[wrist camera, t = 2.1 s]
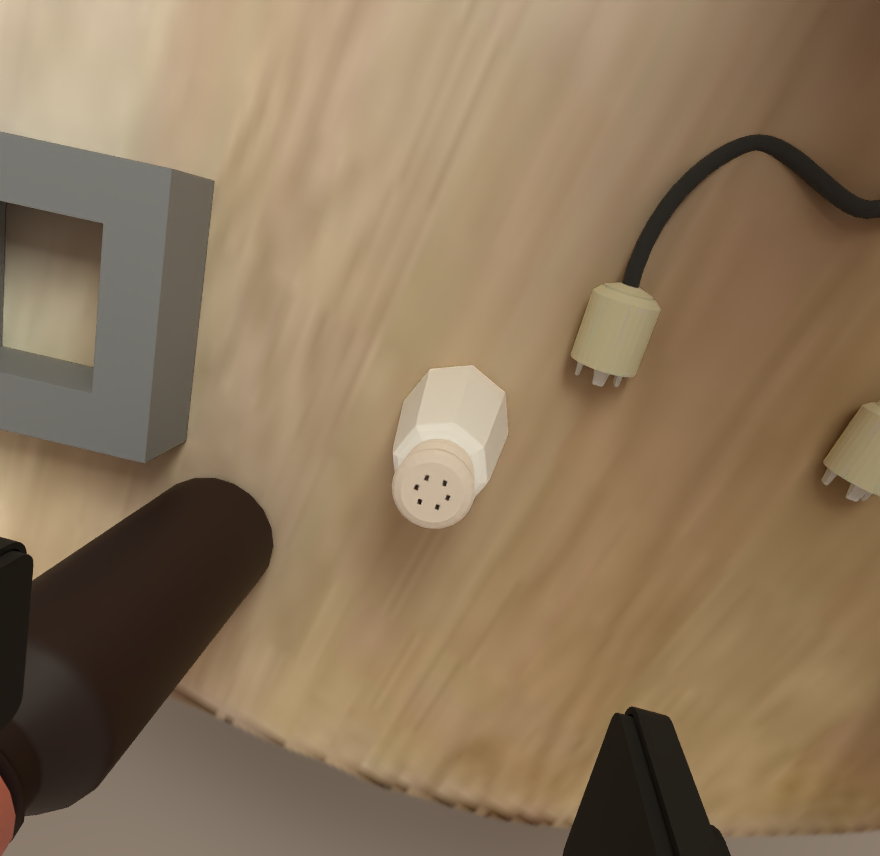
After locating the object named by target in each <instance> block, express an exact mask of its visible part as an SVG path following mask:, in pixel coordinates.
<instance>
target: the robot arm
mask: <svg viewBox="0 0 880 856" xmlns="http://www.w3.org/2000/svg"><path fill="white" fill-rule="evenodd" d="M32 576H33V559H32V557H31V556H30V555H28V554H27V552H26V548H25V546H24V545H23V544H22V543H20V542H17V541H13V540H9V539H6V538H2V537H0V730H2V729H3V728H4V727H5V726H6V725H7V724H8V723H9V722H10V721H11V720H12V719H13V717H14V716H15V714H16V713H17V711H18V709H19V707H20V705H21V702H22V698H23V688H24V676H25V663H26V651H27V638H28V626H29V613H30V601H31V588H32ZM563 856H731V855H730V852H729V850H728V847H727V845H726V842H725V840H724V838H723V836H722V834H721V833H720V831H719V830H718V829H717V828H716V827H715V826H713V825H710V823H709V820H708V817H707V815H706V812H705V809H704V807H703V804H702V801H701V799H700V796H699V793H698V791H697V788H696V785H695V783H694V780H693V777H692V774H691V772H690V769H689V766H688V764H687V761H686V758H685V756H684V753H683V750H682V748H681V745H680V742H679V740H678V737H677V734H676V732H675V729H674V726H673V724H672V721H671V720H670V718H669V717H668V716H666V715H662V714H658V713H655V712H651V711H647V710H644V709H640V708H636V707H629V708H628V709H627V711H626V712H625V714H620V713H615V714H614V716H613V717H612V719H611V722H610V724H609V727H608V730H607V733H606V735H605V738H604V741H603V744H602V746H601V749H600V752H599V754H598V757H597V760H596V763H595V765H594V768H593V771H592V774H591V776H590V779H589V782H588V785H587V787H586V790H585V793H584V795H583V798H582V801H581V804H580V806H579V809H578V812H577V815H576V817H575V820H574V823H573V825H572V828H571V831H570V834H569V837H568V839H567V842H566V845H565V848H564V852H563Z"/></svg>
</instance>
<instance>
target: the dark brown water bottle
mask: <svg viewBox="0 0 880 856" xmlns="http://www.w3.org/2000/svg"><path fill="white" fill-rule="evenodd" d="M272 549H273V540H272V530H271V526H270V524H269V522H268V519H267V517H266V515H265V512H264V510H263V509H262V508H261V507H260V505H259V504H258V503H257V502H256V501H255V500H254V498H253V497H252V496H251V495H250V494H248V493H247V492H245V491H244V490H242V489H241V488H239V487H238V486H236V485H235V484H232V483H229V482H226V481H223V480H219V479H216V478H193V479H190V480H187V481H185V482H182V483H179V484H176V485H174V486H173V487H171V488H170V489H168V490H167V491H165V492H164V493H162V494H161V495H159V496H158V497H156V498H155V499H153V500H152V501H150V502H149V503H147V504H146V505H145V506H143V507H142V508H140V509H139V510H137V511H136V512H134V513H133V514H131V515H130V516H128V517H127V518H125V519H124V520H122V521H121V522H119V523H118V524H116V525H115V526H113V527H112V528H110V529H109V530H107V531H106V532H104V533H103V534H101V535H100V536H98V537H97V538H95V539H94V540H92V541H91V542H89V543H88V544H86V545H85V546H83V547H82V548H80V549H79V550H77V551H76V552H74V553H73V554H71V555H70V556H68V557H67V558H66V559H64V560H63V561H61V562H60V563H58V564H57V565H55V566H54V567H52V568H51V569H49V570H48V571H46V572H45V573H43V574H42V575H40V576H39V577H37V578H36V579H34V580H33V581H32V588H31V601H30V613H29V626H28V638H27V651H26V663H25V676H24V688H23V698H22V702H21V705H20V707H19V709H18V711H17V713H16V714H15V716H14V717H13V719H12V720H11V721H10V722H9V723H8V724H7V725H6V726H5V727H4V728H3V729H2V730H0V856H1V855H2V854H3V852H4V851H5V849H6V848H7V846H8V844H9V843H10V842H11V841H12V840H13V838H14V836H15V835H16V833H17V832H18V830H19V829H20V827H21V825H22V824H23V822H24V816H30V815H38V814H42V813H46V812H51V811H55V810H59V809H63V808H67V807H69V806H71V805H72V804H74V803H76V802H77V801H78V800H80V799H81V798H83V797H84V796H85V795H87V794H89V793H90V792H92V791H93V790H95V789H96V788H97V787H98V786H99V784H100V783H101V782H102V781H103V779H104V778H105V777H106V776H107V774H108V773H109V772H110V771H111V769H112V768H113V767H114V765H115V764H116V763H117V761H118V760H119V759H120V758H121V756H122V755H123V754H124V752H125V751H126V750H127V749H128V747H129V746H130V745H131V744H132V742H133V741H134V740H135V738H136V737H137V736H138V734H139V733H140V732H141V731H142V729H143V728H144V727H145V726H146V724H147V723H148V722H149V720H150V719H151V718H152V717H153V715H154V714H155V713H156V711H157V710H158V709H159V707H160V706H161V705H162V704H163V702H164V701H165V700H166V699H167V697H168V696H169V695H170V693H171V692H172V691H173V690H174V688H175V687H176V686H177V684H178V683H179V682H180V681H181V679H182V678H183V677H184V675H185V674H186V673H187V672H188V670H189V669H190V668H191V666H192V665H193V664H194V663H195V661H196V660H197V659H198V657H199V656H200V655H201V654H202V652H203V651H204V650H205V649H206V647H207V646H208V645H209V643H210V642H211V641H212V640H213V638H214V637H215V636H216V634H217V633H218V632H219V631H220V629H221V628H222V627H223V625H224V624H225V623H226V622H227V620H228V619H229V618H230V616H231V615H232V614H233V613H234V611H235V610H236V609H237V607H238V606H239V605H240V604H241V602H242V601H243V600H244V598H245V597H246V596H247V595H248V593H249V592H250V591H251V589H252V588H253V587H254V586H255V584H256V583H257V582H258V580H259V579H260V578H261V576H262V575H263V573H264V572H265V570H266V569H267V567H268V566H269V562H270V557H271V553H272Z"/></svg>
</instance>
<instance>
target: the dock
mask: <svg viewBox="0 0 880 856" xmlns="http://www.w3.org/2000/svg"><path fill="white" fill-rule="evenodd" d="M213 189H214V181H213V180H210V179H206V178H203V177H199V176H196V175H192V174H188V173H185V172H181V171H178V170H174V169H171V168H166V167H161V166H157V165H152V164H147V163H143V162H138V161H134V160H129V159H124V158H120V157H115V156H110V155H106V154H101V153H97V152H92V151H87V150H83V149H78V148H73V147H69V146H64V145H60V144H55V143H50V142H46V141H41V140H36V139H32V138H27V137H23V136H18V135H13V134H9V133H4V132H0V429H1V430H5V431H9V432H14V433H18V434H22V435H26V436H31V437H35V438H39V439H43V440H47V441H52V442H56V443H60V444H64V445H69V446H73V447H77V448H81V449H86V450H90V451H94V452H98V453H102V454H107V455H111V456H115V457H119V458H124V459H128V460H132V461H136V462H140V463H147V462H148V461H150V460H152V459H154V458H156V457H157V456H159V455H161V454H163V453H165V452H166V451H168V450H170V449H172V448H174V447H175V446H177V445H179V444H181V443H183V442H184V441H186V437H187V427H188V418H189V409H190V400H191V391H192V381H193V372H194V363H195V354H196V345H197V335H198V326H199V317H200V308H201V299H202V290H203V280H204V271H205V262H206V253H207V244H208V234H209V225H210V216H211V207H212V198H213ZM6 202H8V203H13V204H17V205H22V206H26V207H31V208H35V209H40V210H44V211H49V212H53V213H58V214H62V215H67V216H71V217H76V218H80V219H85V220H90V221H94V222H99V223H103V235H102V250H101V265H100V280H99V295H98V310H97V325H96V340H95V355H94V367H89V366H85V365H81V364H76V363H72V362H68V361H63V360H59V359H55V358H50V357H46V356H42V355H37V354H33V353H29V352H24V351H20V350H16V349H11V348H7V347H3V346H2V325H3V289H4V253H5V217H6Z"/></svg>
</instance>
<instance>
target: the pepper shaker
mask: <svg viewBox="0 0 880 856" xmlns="http://www.w3.org/2000/svg"><path fill="white" fill-rule="evenodd" d="M508 434H509V432H508V419H507V407H506V394H505V392H504V391H503V390H502V389H501V388H499V387H498V386H497V385H496V384H495V383H493V382H492V381H491V380H490V379H489V378H487V377H486V376H485V375H484V374H483V373H481V372H480V371H479V370H478V369H477V368H475V367H474V366H473V365H467V366H456V367H444V368H433V369H429V371H428V372H427V373H426V374H425V375H424V377H423V378H422V379H421V380H420V381H419V383H418V384H417V385H416V386H415V388H414V389H413V390H412V391H411V392H410V394H409V395H408V396H407V397H406V398H405V400H404V402H403V406H402V410H401V415H400V419H399V423H398V428H397V432H396V436H395V441H394V445H393V463H394V471H395V474H394V476H393V480H392V487H391V488H392V496H393V500H394V502H395V505H396V507H397V509H398V510H399V511H400V513H401V514H402V515H403V516H404V517H405V518H406V519H408V520H409V521H410V522H411V523H413V524H416V525H418V526H420V527H423V528H428V529H443V528H446V527H449V526H452V525H454V524H456V523H457V522H459V521H460V520H462V519H463V518H464V516H465V515H466V514H467V513H468V512H469V510H470V508H471V506H472V504H473V501H474V498H475V497H476V496H477V495H478V493H479V492H480V491H481V490H482V489H483V488H484V487H485V485H486V484H487V483H488V481H489V480H490V478H491V476H492V473H493V471H494V468H495V466H496V463H497V461H498V459H499V456H500V454H501V451H502V449H503V446H504V444H505V441H506V439H507V437H508Z"/></svg>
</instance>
